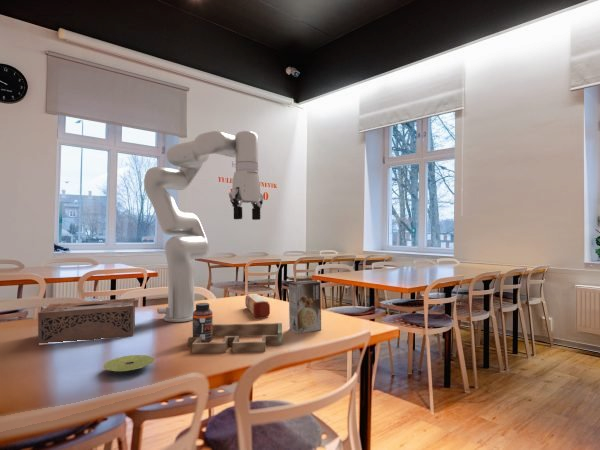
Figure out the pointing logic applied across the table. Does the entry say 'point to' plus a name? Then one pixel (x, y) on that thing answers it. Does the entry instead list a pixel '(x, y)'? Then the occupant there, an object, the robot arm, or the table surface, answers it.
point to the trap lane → (232, 333)
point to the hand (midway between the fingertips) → (247, 219)
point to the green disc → (128, 363)
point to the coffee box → (304, 306)
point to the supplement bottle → (202, 322)
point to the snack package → (257, 306)
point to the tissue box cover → (86, 320)
